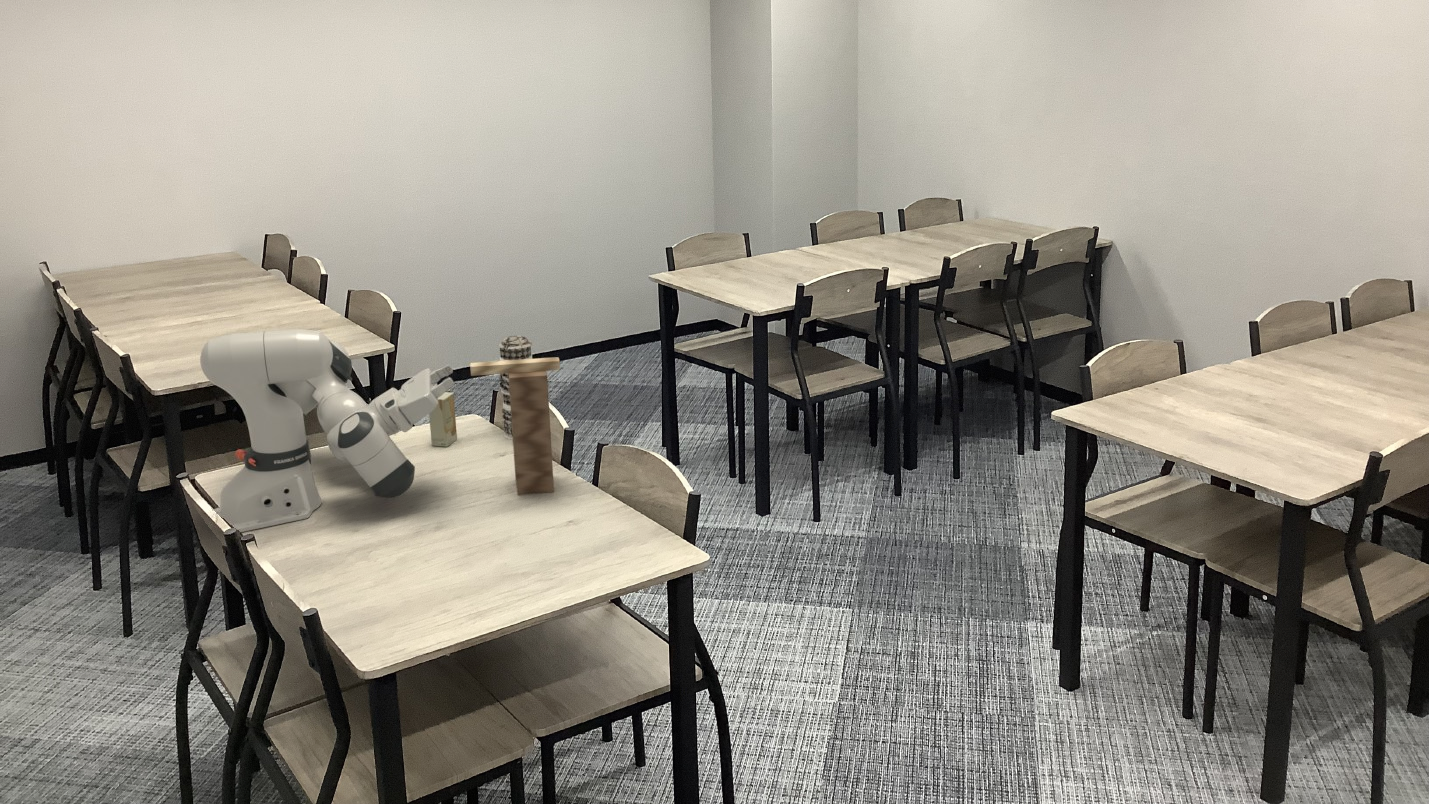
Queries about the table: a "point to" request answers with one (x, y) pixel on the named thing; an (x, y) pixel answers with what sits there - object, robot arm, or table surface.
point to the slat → (515, 366)
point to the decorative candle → (508, 351)
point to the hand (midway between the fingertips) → (451, 374)
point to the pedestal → (531, 432)
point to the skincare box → (443, 421)
